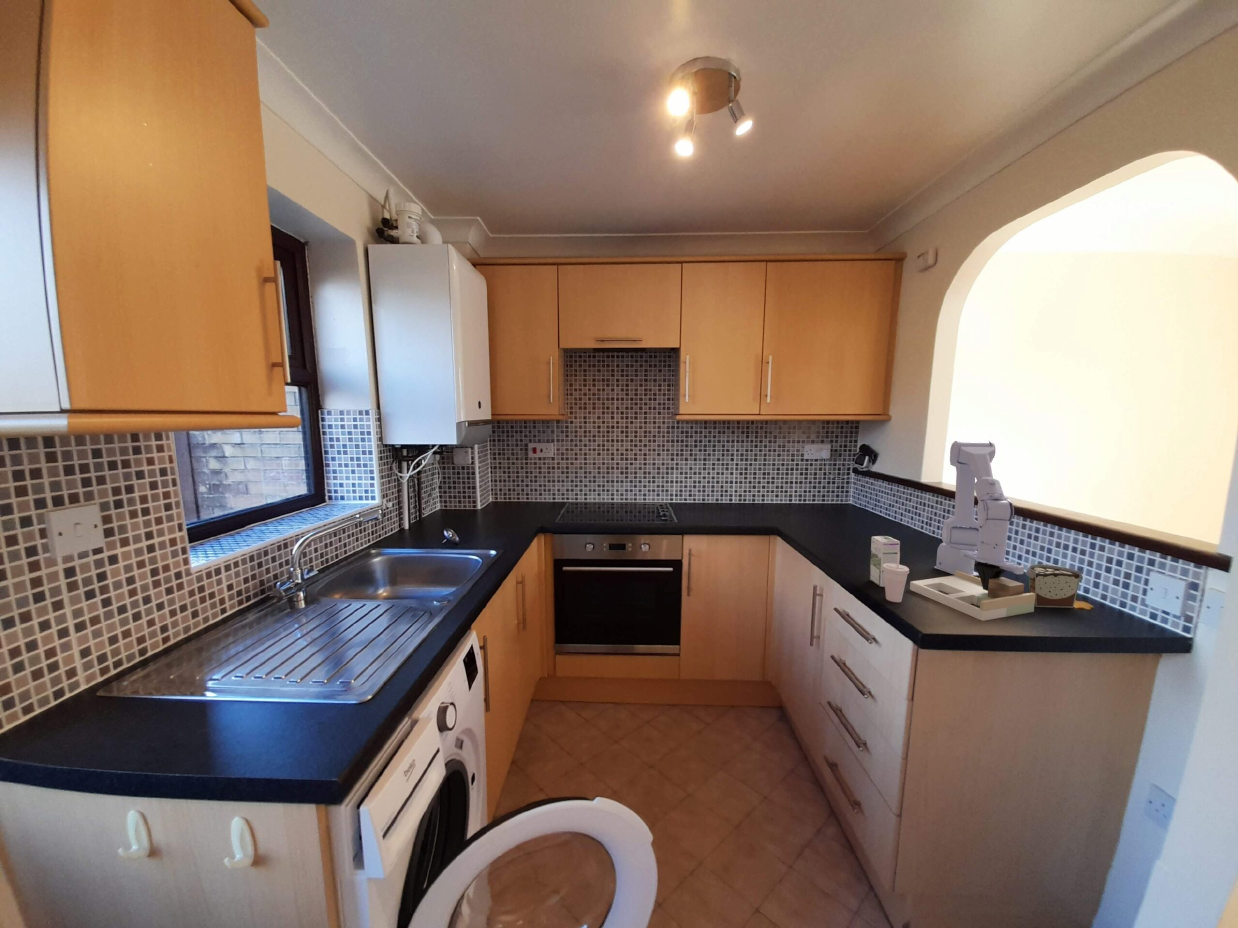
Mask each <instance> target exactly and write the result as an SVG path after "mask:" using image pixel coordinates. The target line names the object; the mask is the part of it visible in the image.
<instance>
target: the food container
mask: <svg viewBox="0 0 1238 928" xmlns="http://www.w3.org/2000/svg"><path fill="white" fill-rule="evenodd" d="M1025 575H1026V576H1028V590H1029V591H1028V593H1035V604H1034V608H1037V607H1038V608H1039V607H1040V608H1042V607H1043V608H1068V609H1069V608H1071V609H1072V608H1074V607H1075V603H1076V600H1077V599H1076V598H1077V594H1078V590H1079V585H1080V581H1083V580H1084V578H1083V574H1082V571H1079V570H1076V569H1072V568H1069V567H1063V566H1058V565H1050V564H1041V563H1040V564H1030V565H1029V566H1028V567H1027V569H1026V570H1025Z"/></svg>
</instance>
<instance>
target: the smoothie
mask: <svg viewBox="0 0 1238 928" xmlns="http://www.w3.org/2000/svg"><path fill="white" fill-rule="evenodd" d="M900 557H901V552H898V553H897V564H894V563H886V564H883V567H882V569H883V570H884V581H885V587H884V590H885V599H886V600H887V601H889V602H892V603H901V602H903V601H902V600H903V595H904V592H905V586H906V583H907V579H908V574H909V573H910V568H909V567H908V566H906V565H903V564H900Z"/></svg>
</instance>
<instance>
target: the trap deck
mask: <svg viewBox="0 0 1238 928" xmlns="http://www.w3.org/2000/svg"><path fill="white" fill-rule="evenodd" d="M909 590H910V591H912V592H914V593H916V594H919V595H922V596H924V597H927V598H929V599H931V600H933V601H936V602H938V603H941V604H942V605H944V606H947V607H949V608H952V609H955V610H956V611H958V612H961V613H964V614H966V615H968V616H971V617H972V618H975V619H977V620H979V621H982V622H984V621H990V620H994V619H996V620H997V619H1001V618H1002V619H1003V618H1006V617H1007V618H1008V617H1012V616H1017V615H1023V614H1028V613H1034V612H1035V606H1034V604H1035V593H1029V592H1027V593H1024V592H1023V594H1020V595H1014V596H1007V597H1001V598H995V599H993V598H990V597H988V591H986V590H983V587H982V583H981V579H980V577H978V576H971V575H969V574H966V573H963V572H960V571H955V575H948V576H940V577H933V578H932V577H931V578H927V579H920V580H913V581H910V583H909ZM940 591H941V592H940ZM946 593H947V594H946ZM972 604H974V605H975V606H974V605H972ZM977 606H978V607H977Z"/></svg>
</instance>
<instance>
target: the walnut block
mask: <svg viewBox="0 0 1238 928" xmlns="http://www.w3.org/2000/svg"><path fill="white" fill-rule="evenodd" d="M1024 589H1025V583H1022V582H1020V581H1016V580H1014V579H1013V580H1012V579H1009V578H1007V577H1004V576H1000V577H999V578H993V579H989V586H988V597H990V598H993V599H995V598H1001V597H1007V596H1014V595H1020V594H1023V593H1024Z"/></svg>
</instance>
